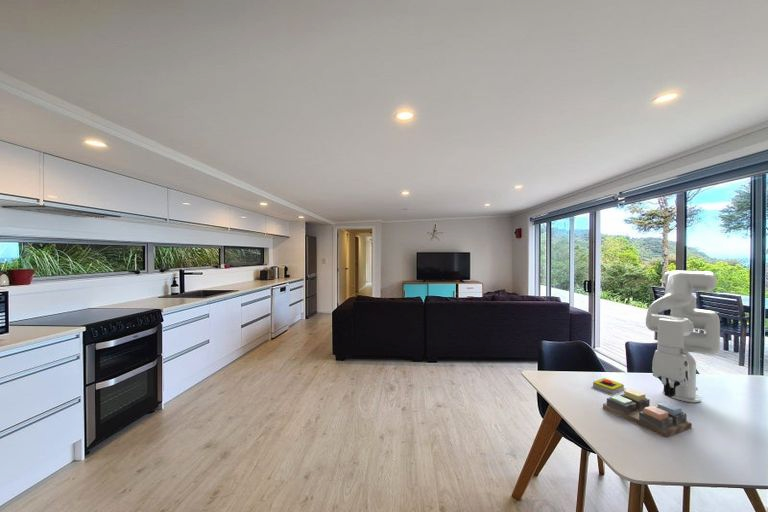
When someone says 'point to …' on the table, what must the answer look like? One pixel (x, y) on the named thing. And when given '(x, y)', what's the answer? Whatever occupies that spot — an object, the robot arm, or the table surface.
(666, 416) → the terracotta button
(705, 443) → the table surface
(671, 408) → the slate button
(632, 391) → the mustard button
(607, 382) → the emergency button
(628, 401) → the sage button
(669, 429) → the console
